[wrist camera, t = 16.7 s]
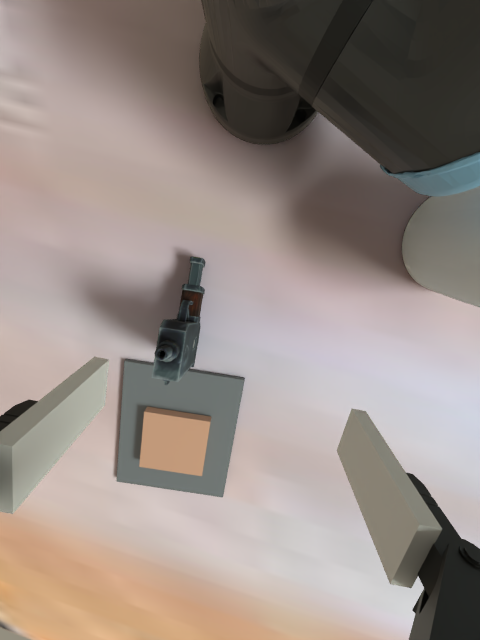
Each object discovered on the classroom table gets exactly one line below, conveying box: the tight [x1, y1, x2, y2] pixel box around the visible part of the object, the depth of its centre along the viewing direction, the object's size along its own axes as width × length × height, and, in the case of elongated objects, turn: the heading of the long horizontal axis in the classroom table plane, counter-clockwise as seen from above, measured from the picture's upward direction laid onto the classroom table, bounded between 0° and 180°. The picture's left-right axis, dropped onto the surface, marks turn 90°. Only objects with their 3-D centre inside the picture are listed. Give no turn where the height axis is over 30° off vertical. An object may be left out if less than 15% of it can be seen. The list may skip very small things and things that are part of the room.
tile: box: [139, 407, 211, 476], centre depth 47 cm, size 2×10×10 cm
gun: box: [152, 257, 205, 385], centre depth 35 cm, size 3×17×15 cm
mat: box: [117, 359, 245, 497], centre depth 48 cm, size 22×18×1 cm
